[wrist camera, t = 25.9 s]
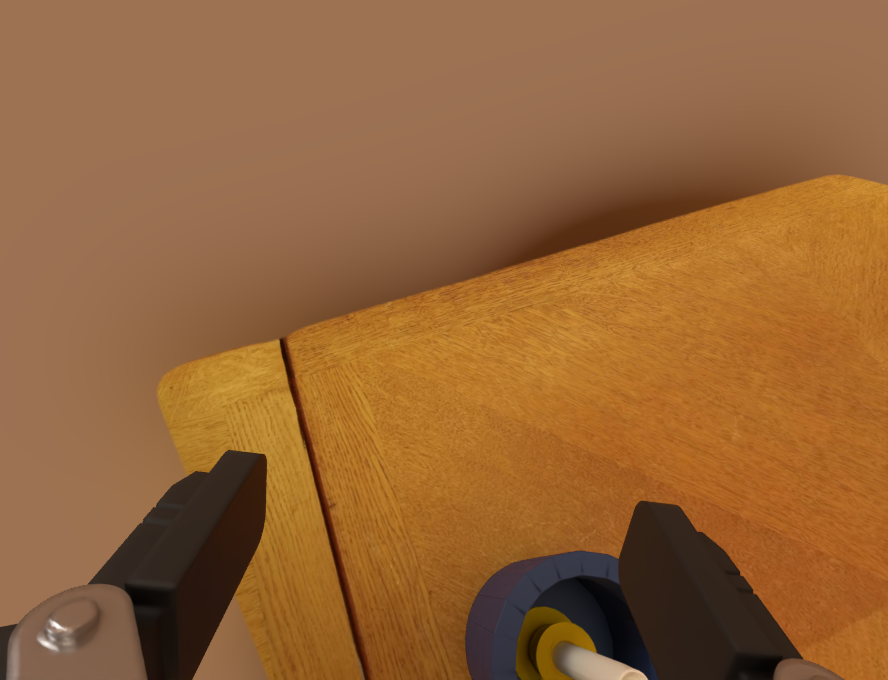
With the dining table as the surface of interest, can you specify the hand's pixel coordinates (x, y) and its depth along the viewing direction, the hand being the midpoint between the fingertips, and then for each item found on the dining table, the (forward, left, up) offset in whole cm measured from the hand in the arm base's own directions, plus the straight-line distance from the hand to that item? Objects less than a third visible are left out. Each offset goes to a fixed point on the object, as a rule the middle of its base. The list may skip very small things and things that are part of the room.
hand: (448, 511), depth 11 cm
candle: (+8, -7, -30) cm, 32 cm away
